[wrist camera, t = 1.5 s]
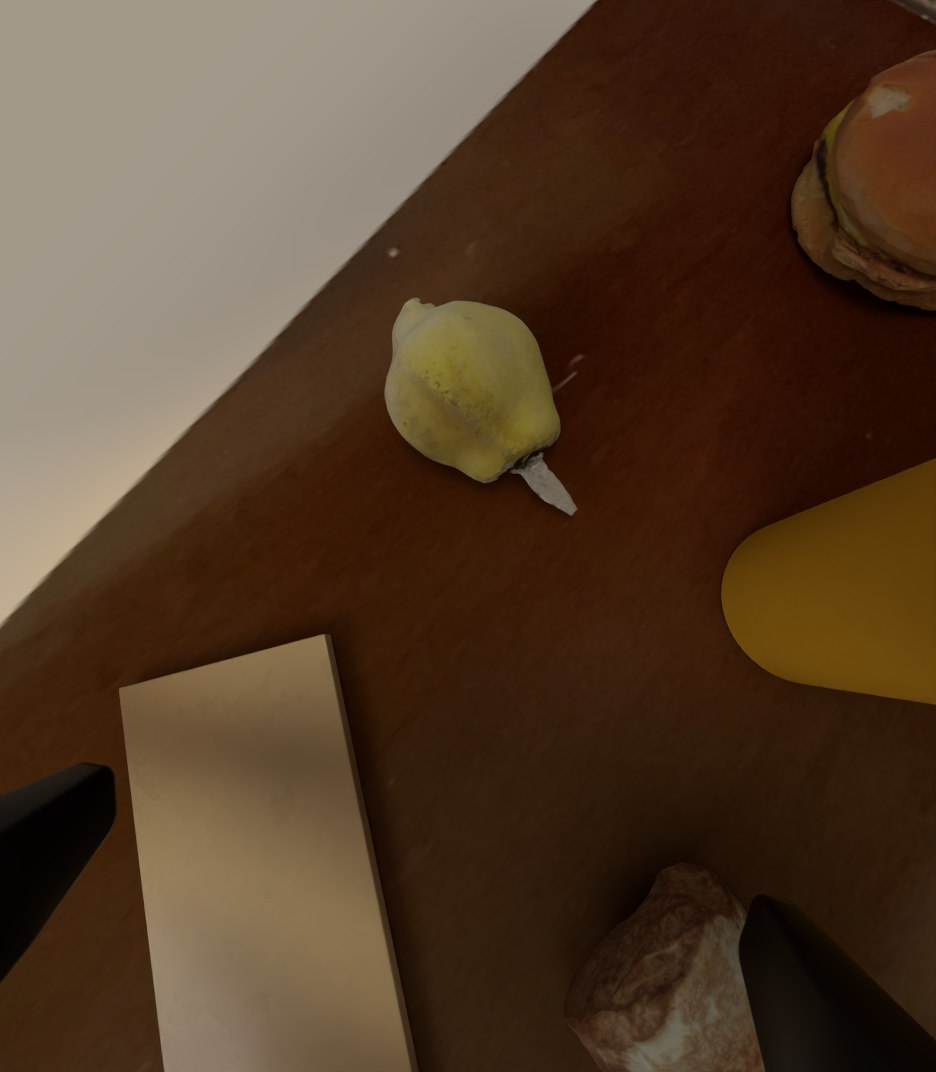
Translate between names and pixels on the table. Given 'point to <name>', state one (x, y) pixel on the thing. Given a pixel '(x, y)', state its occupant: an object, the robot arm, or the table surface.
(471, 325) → the fruit
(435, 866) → the table surface
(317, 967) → the serving board
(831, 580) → the snack tube
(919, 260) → the burger
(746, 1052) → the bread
